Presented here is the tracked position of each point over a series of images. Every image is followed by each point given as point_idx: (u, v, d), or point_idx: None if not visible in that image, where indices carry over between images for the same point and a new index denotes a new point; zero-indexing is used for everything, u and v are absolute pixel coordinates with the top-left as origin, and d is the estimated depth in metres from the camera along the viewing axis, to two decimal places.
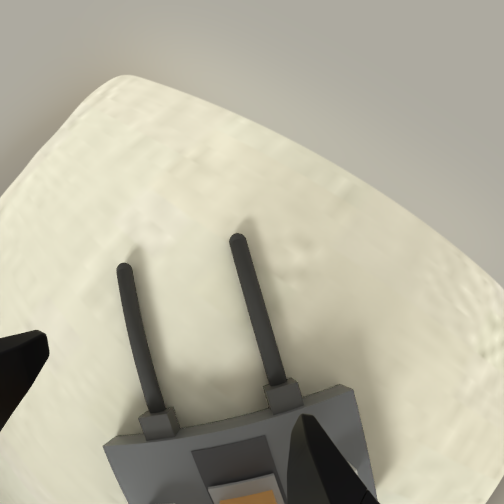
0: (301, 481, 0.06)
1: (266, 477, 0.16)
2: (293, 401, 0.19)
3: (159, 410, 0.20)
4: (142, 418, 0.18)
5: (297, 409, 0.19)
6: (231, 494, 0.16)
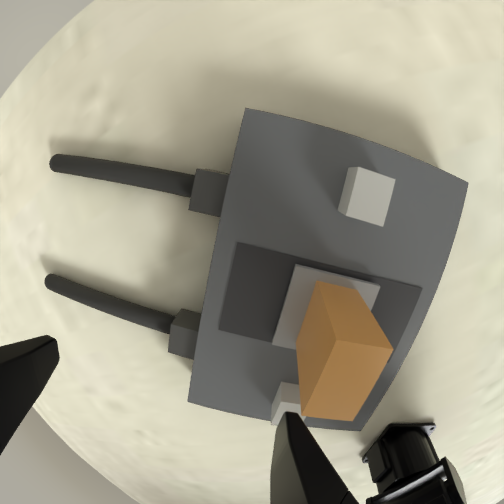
0: (283, 479, 0.06)
1: (292, 276, 0.16)
2: (218, 185, 0.16)
3: None
4: (169, 348, 0.19)
5: (227, 187, 0.16)
6: (294, 326, 0.16)
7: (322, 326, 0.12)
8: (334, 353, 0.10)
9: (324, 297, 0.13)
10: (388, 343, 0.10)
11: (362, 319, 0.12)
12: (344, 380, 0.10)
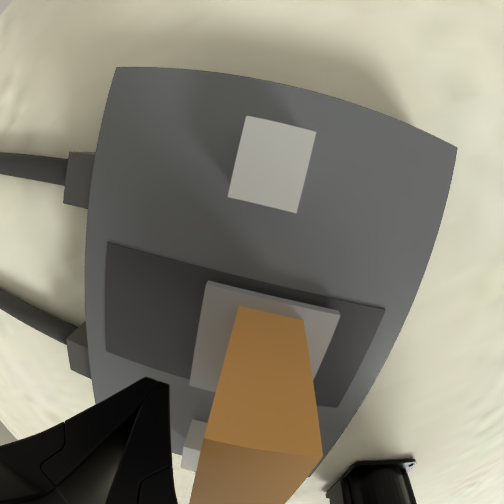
0: None
1: (203, 298, 0.11)
2: (89, 169, 0.11)
3: None
4: (71, 366, 0.14)
5: None
6: (214, 365, 0.11)
7: None
8: (206, 453, 0.05)
9: (233, 339, 0.08)
10: (317, 442, 0.05)
11: (285, 385, 0.07)
12: (237, 484, 0.05)
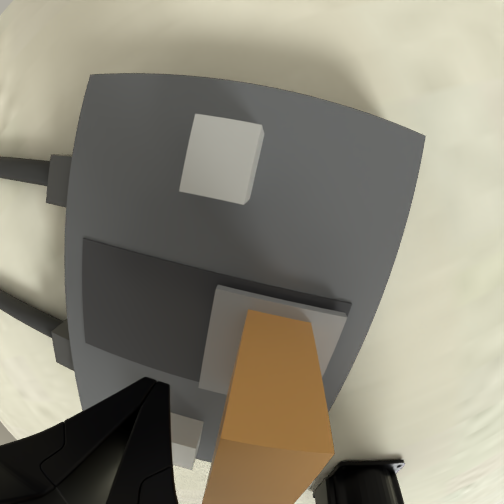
0: None
1: (213, 302, 0.11)
2: (68, 171, 0.11)
3: None
4: (56, 358, 0.14)
5: None
6: (223, 367, 0.12)
7: (229, 392, 0.07)
8: (223, 453, 0.05)
9: (244, 341, 0.09)
10: (328, 440, 0.05)
11: (296, 386, 0.07)
12: (251, 482, 0.05)
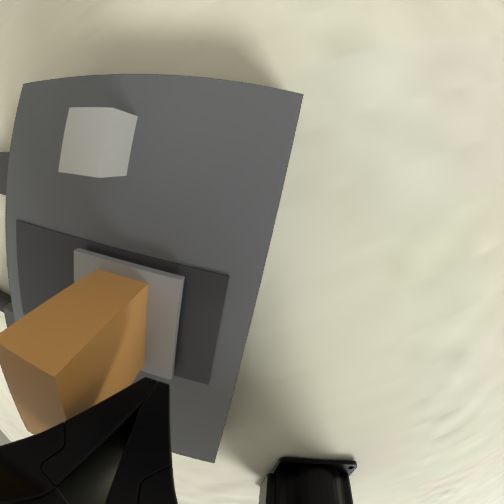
0: None
1: (74, 262, 0.11)
2: None
3: None
4: None
5: None
6: None
7: None
8: (0, 357, 0.05)
9: (68, 289, 0.09)
10: (60, 366, 0.05)
11: (76, 323, 0.07)
12: (29, 400, 0.05)
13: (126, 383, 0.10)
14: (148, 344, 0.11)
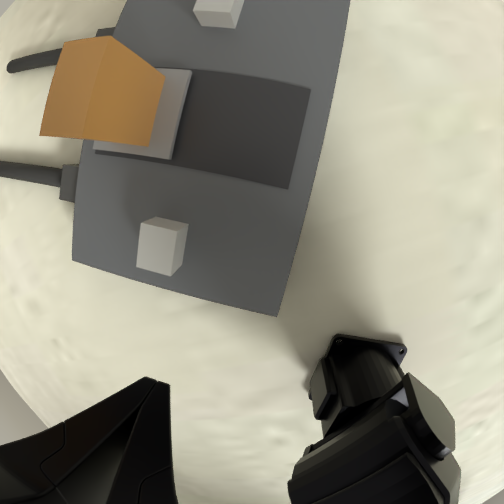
0: None
1: None
2: None
3: None
4: (60, 194, 0.17)
5: None
6: None
7: None
8: (62, 54, 0.07)
9: None
10: (113, 39, 0.08)
11: None
12: (68, 78, 0.08)
13: (133, 135, 0.12)
14: (155, 125, 0.14)
